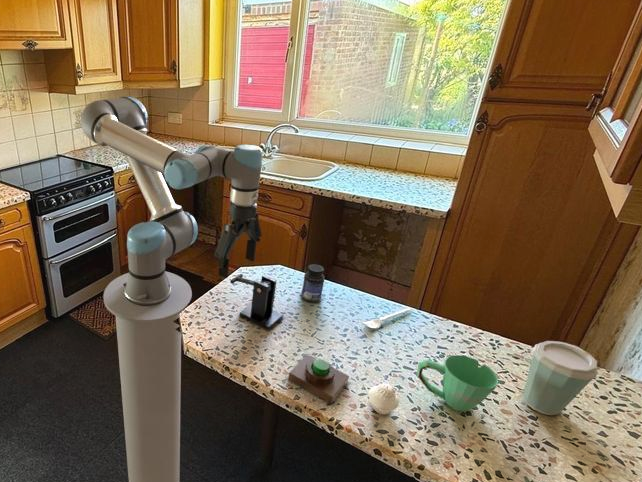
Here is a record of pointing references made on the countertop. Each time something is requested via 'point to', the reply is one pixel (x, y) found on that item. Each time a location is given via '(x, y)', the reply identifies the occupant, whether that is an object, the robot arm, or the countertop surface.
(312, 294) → the pill bottle
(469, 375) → the mug
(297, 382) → the switch block
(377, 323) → the white spoon
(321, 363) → the button
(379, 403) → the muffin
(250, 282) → the lever
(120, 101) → the robot arm
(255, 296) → the switch bracket
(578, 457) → the countertop surface
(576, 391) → the disposable coffee cup
